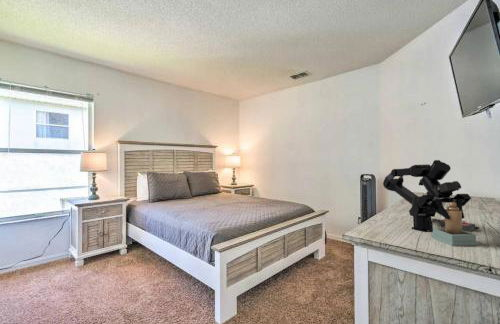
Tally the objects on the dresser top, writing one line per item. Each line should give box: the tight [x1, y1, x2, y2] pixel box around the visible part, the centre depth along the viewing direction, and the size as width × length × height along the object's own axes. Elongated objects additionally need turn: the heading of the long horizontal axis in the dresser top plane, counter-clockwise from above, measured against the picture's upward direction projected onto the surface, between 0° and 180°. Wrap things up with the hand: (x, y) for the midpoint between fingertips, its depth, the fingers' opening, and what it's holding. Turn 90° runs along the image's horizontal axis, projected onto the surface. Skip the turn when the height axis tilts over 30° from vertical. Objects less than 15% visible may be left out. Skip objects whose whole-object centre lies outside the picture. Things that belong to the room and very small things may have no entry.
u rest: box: [431, 228, 480, 247], centre depth 96 cm, size 10×10×4 cm
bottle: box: [444, 202, 463, 235], centre depth 96 cm, size 5×5×13 cm
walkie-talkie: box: [431, 218, 480, 232], centre depth 118 cm, size 9×4×20 cm
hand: (456, 218), depth 94 cm, fingers closed on bottle, 5 cm apart
